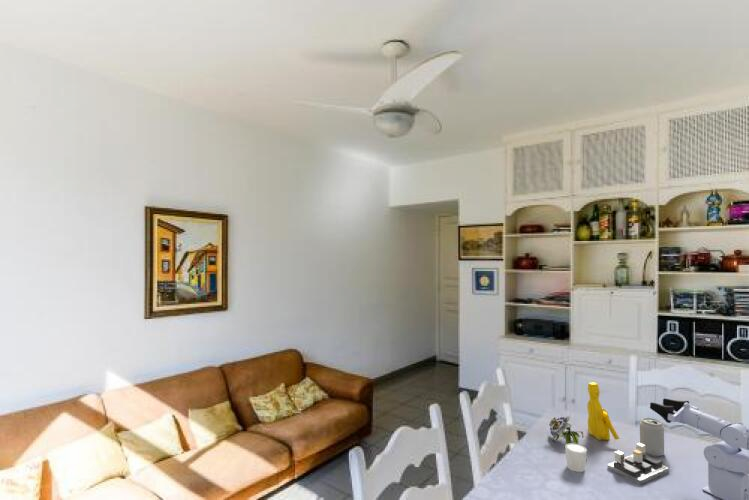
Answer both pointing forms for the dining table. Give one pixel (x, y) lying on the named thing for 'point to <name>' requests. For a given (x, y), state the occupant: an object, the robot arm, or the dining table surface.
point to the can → (652, 436)
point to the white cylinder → (576, 457)
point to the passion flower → (563, 430)
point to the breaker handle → (637, 456)
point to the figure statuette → (598, 416)
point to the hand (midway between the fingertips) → (657, 403)
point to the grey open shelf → (638, 466)
